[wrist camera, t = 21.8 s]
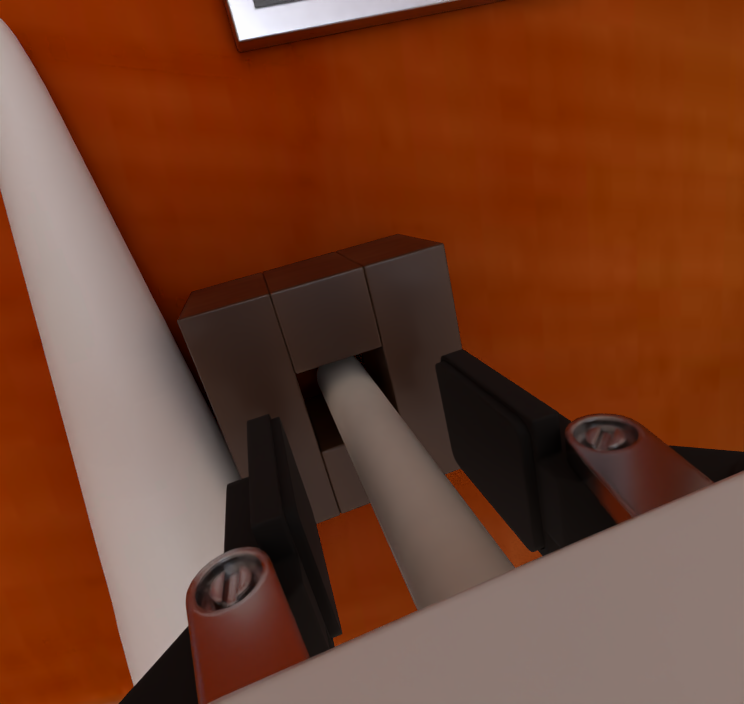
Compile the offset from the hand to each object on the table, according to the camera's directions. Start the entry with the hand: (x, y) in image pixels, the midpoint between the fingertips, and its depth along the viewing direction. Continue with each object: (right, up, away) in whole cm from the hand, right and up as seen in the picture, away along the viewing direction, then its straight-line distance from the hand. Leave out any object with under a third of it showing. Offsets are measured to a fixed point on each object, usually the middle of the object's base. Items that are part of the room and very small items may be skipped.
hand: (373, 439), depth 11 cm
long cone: (-5, +2, +2) cm, 6 cm away
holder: (-2, +2, +6) cm, 6 cm away
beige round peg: (-2, +2, +6) cm, 6 cm away
